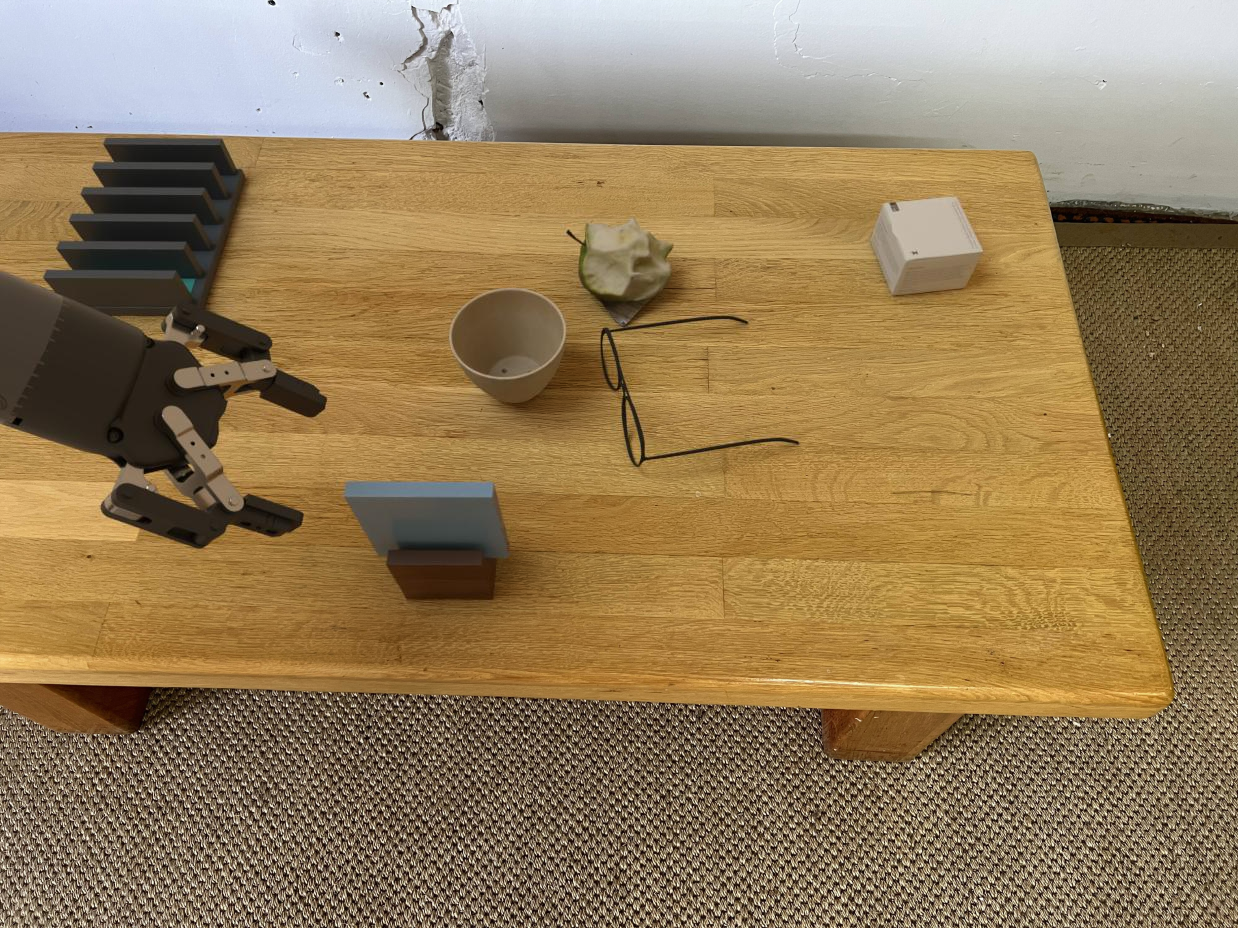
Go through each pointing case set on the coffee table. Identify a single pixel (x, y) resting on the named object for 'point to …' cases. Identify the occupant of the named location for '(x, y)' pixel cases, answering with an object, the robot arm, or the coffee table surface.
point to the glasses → (623, 409)
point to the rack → (151, 226)
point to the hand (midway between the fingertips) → (309, 464)
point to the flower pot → (509, 342)
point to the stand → (443, 574)
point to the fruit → (622, 267)
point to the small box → (925, 245)
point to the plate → (429, 516)
